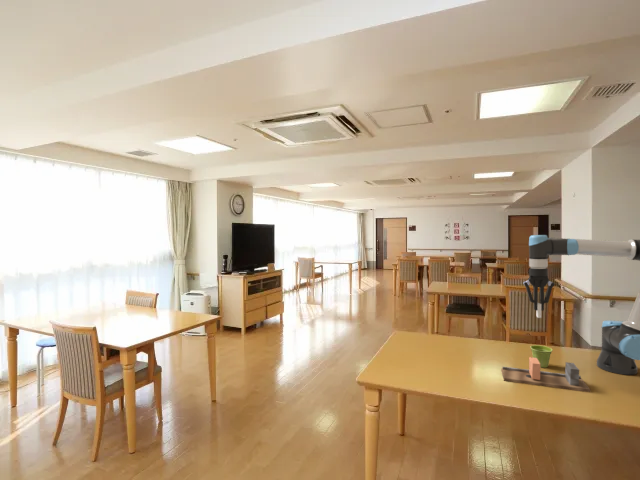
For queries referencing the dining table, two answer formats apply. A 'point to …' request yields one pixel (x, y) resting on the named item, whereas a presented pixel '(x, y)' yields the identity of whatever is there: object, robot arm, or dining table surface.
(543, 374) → the board
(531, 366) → the sliding point
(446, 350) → the dining table surface
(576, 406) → the dining table surface
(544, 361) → the plant pot
